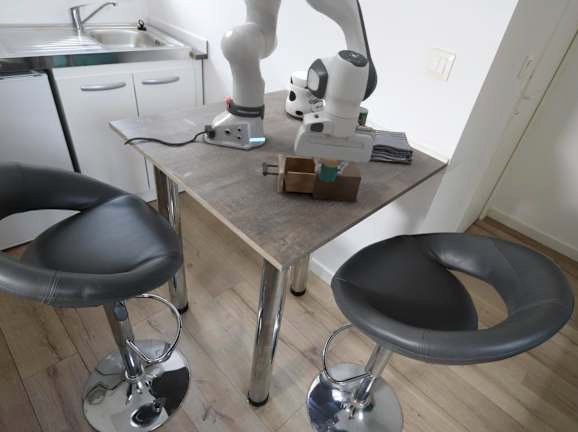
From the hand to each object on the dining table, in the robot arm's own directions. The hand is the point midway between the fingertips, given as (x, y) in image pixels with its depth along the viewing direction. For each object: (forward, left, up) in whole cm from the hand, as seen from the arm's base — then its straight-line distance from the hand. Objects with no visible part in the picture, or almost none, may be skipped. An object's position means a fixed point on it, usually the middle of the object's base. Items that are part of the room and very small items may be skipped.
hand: (328, 172), depth 95 cm
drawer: (-9, +12, -11) cm, 19 cm away
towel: (+32, +41, -12) cm, 54 cm away
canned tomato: (+23, +60, -12) cm, 66 cm away
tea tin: (0, 0, -2) cm, 2 cm away
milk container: (+2, +76, -12) cm, 77 cm away
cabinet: (+5, +12, -12) cm, 18 cm away
